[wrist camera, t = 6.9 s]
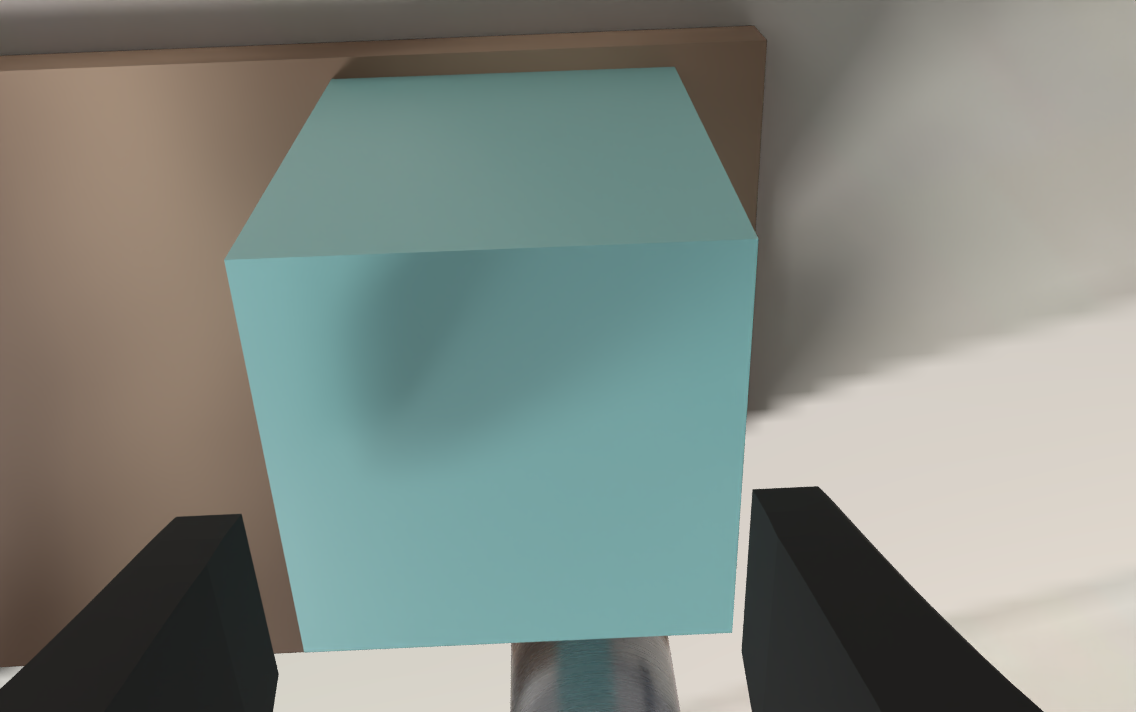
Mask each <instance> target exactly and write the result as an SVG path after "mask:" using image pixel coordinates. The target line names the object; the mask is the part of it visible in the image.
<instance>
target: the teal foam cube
mask: <svg viewBox="0 0 1136 712" xmlns="http://www.w3.org/2000/svg"><path fill="white" fill-rule="evenodd" d="M757 253H758V237H757V235H756V233H755V231H754V229H753V227H752V225H751V223H750V221H749V219H748V216H747V214H746V212H745V210H744V208H743V206H742V204H741V202H740V200H739V198H738V196H737V194H736V192H735V190H734V188H733V186H732V184H731V182H730V179H729V177H728V175H727V173H726V171H725V169H724V167H723V165H722V163H721V161H720V159H719V157H718V155H717V153H716V151H715V149H714V147H713V145H712V142H711V140H710V138H709V136H708V134H707V132H706V130H705V128H704V126H703V124H702V122H701V120H700V118H699V116H698V114H697V112H696V110H695V107H694V105H693V103H692V101H691V99H690V97H689V95H688V93H687V91H686V89H685V87H684V85H683V83H682V81H681V79H680V77H679V75H678V73H677V70H676V68H675V67H653V68H625V69H598V70H570V71H543V72H515V73H487V74H460V75H432V76H405V77H377V78H349V79H331V81H330V82H329V84H328V86H327V87H326V89H325V91H324V92H323V94H322V96H321V97H320V99H319V101H318V102H317V104H316V106H315V108H314V109H313V111H312V113H311V114H310V116H309V118H308V119H307V121H306V123H305V124H304V126H303V128H302V129H301V131H300V133H299V135H298V136H297V138H296V140H295V141H294V143H293V145H292V146H291V148H290V150H289V151H288V153H287V155H286V156H285V158H284V160H283V161H282V163H281V165H280V167H279V168H278V170H277V172H276V173H275V175H274V177H273V178H272V180H271V182H270V183H269V185H268V187H267V188H266V190H265V192H264V193H263V195H262V197H261V199H260V200H259V202H258V204H257V205H256V207H255V209H254V210H253V212H252V214H251V215H250V217H249V219H248V220H247V222H246V224H245V226H244V227H243V229H242V231H241V232H240V234H239V236H238V237H237V239H236V241H235V242H234V244H233V246H232V247H231V249H230V251H229V252H228V254H227V256H226V258H225V259H224V262H225V267H226V272H227V277H228V282H229V287H230V291H231V296H232V301H233V306H234V311H235V316H236V321H237V326H238V331H239V336H240V340H241V345H242V350H243V355H244V360H245V365H246V370H247V375H248V380H249V384H250V389H251V394H252V399H253V404H254V409H255V414H256V419H257V424H258V429H259V433H260V438H261V443H262V448H263V453H264V458H265V463H266V468H267V473H268V477H269V482H270V487H271V492H272V497H273V502H274V507H275V512H276V517H277V521H278V526H279V531H280V536H281V541H282V546H283V551H284V556H285V561H286V566H287V570H288V575H289V580H290V585H291V590H292V595H293V600H294V605H295V610H296V614H297V619H298V624H299V629H300V634H301V639H302V644H303V649H304V652H325V651H346V650H367V649H390V648H411V647H433V646H455V645H476V644H497V643H519V642H541V641H563V640H584V639H606V638H627V637H649V636H671V635H692V634H714V633H732V625H733V609H734V595H735V581H736V566H737V551H738V536H739V520H740V505H741V491H742V476H743V461H744V446H745V432H746V417H747V402H748V387H749V372H750V357H751V342H752V327H753V312H754V297H755V283H756V268H757Z"/></svg>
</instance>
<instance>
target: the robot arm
mask: <svg viewBox="0 0 1136 712" xmlns="http://www.w3.org/2000/svg"><path fill="white" fill-rule="evenodd" d="M747 566H748V567H747V581H746V594H745V609H744V624H743V639H742V656H743V662H744V668H745V674H746V680H747V685H748V691H749V697H750V703H751V709H752V712H1043V711H1042V710H1041V709H1040V708H1039V707H1038V706H1037V705H1035V704H1034V703H1033V702H1032V701H1031V700H1030V699H1029V698H1028V697H1026V696H1025V695H1024V694H1023V693H1022V692H1021V691H1020V690H1019V689H1017V688H1016V687H1015V686H1014V685H1013V684H1012V683H1011V682H1010V681H1009V680H1008V679H1006V678H1005V677H1004V676H1003V675H1002V674H1001V673H1000V672H999V671H998V670H997V669H996V668H995V667H994V666H993V665H991V664H990V663H989V662H988V661H987V660H986V659H985V658H984V657H983V656H982V655H981V654H980V653H979V652H978V651H977V650H976V649H975V648H974V647H973V646H972V645H971V644H969V643H968V642H967V641H966V640H965V639H964V638H963V637H962V636H961V635H960V634H959V633H958V632H957V631H956V630H955V629H954V628H953V627H952V626H951V625H950V624H949V623H948V622H947V621H946V620H945V619H944V618H943V617H942V616H941V615H940V614H939V613H938V612H937V611H936V610H935V609H934V608H933V607H931V606H930V604H929V603H928V602H927V601H926V600H925V599H924V598H923V597H922V596H921V595H920V594H919V593H918V592H917V591H916V590H915V589H914V588H913V587H912V586H911V585H910V584H909V583H908V582H907V581H906V580H905V579H904V577H903V576H902V575H901V574H899V572H898V571H897V570H896V569H895V568H894V567H893V566H892V565H891V564H890V563H889V562H888V561H887V560H886V558H884V556H883V555H882V554H881V553H880V552H879V551H878V550H877V549H876V548H875V547H874V546H873V545H872V543H871V542H870V541H869V540H868V539H867V538H866V537H865V536H864V535H863V534H862V533H861V531H860V530H859V529H858V528H857V527H856V526H855V525H854V524H853V523H852V522H851V520H849V519H848V517H847V516H846V515H845V514H844V513H843V512H842V511H841V510H840V508H839V507H838V506H837V505H836V504H835V503H834V502H833V501H832V500H831V499H830V498H829V497H828V496H827V495H826V494H825V493H824V492H823V491H822V490H821V489H820V488H819V487H816V486H815V487H796V488H774V489H753V492H752V507H751V521H750V536H749V550H748V565H747ZM277 681H278V670H277V665H276V661H275V657H274V652H273V648H272V643H271V639H270V635H269V630H268V626H267V622H266V617H265V613H264V609H263V604H262V600H261V596H260V591H259V587H258V583H257V578H256V574H255V570H254V565H253V561H252V556H251V552H250V548H249V543H248V539H247V535H246V530H245V526H244V522H243V517H242V514H223V515H202V516H181V517H175V518H174V519H173V520H172V521H171V522H170V523H169V524H168V525H167V526H166V527H164V528H163V529H162V530H161V531H160V532H159V533H158V534H157V535H156V536H155V537H154V538H153V539H152V540H151V541H150V542H149V543H148V544H147V545H146V546H145V547H144V548H143V549H142V550H141V551H140V552H139V553H138V554H137V555H136V556H135V557H134V558H133V559H132V560H131V561H130V562H129V563H128V564H127V565H126V566H125V567H124V568H123V569H122V570H121V571H120V572H119V573H118V574H117V575H116V576H115V577H114V578H113V579H112V580H111V581H110V582H109V583H108V584H107V585H106V586H105V587H104V588H103V589H102V590H101V591H100V592H99V593H98V594H97V595H96V596H95V597H94V598H93V599H92V601H91V602H90V603H89V604H88V605H87V606H86V607H85V608H84V609H83V610H82V611H81V612H80V613H79V614H77V615H76V616H75V617H74V618H73V619H72V620H71V621H70V622H69V623H68V624H67V625H66V626H65V627H64V628H63V629H62V630H61V631H60V632H59V633H58V634H57V635H56V636H55V637H54V638H53V639H52V640H51V641H50V642H49V643H48V644H47V645H46V646H45V647H44V648H43V649H42V650H41V651H40V652H39V653H37V654H36V655H35V656H34V657H33V658H32V659H31V660H30V661H29V662H28V663H27V664H26V665H25V666H24V667H23V668H22V669H21V670H20V671H19V672H18V673H17V674H16V675H15V676H14V677H13V678H12V679H11V680H10V681H8V682H7V683H6V684H5V685H4V686H3V687H2V688H1V689H0V712H273V707H274V700H275V694H276V687H277Z"/></svg>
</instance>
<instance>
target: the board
mask: <svg viewBox="0 0 1136 712" xmlns="http://www.w3.org/2000/svg"><path fill="white" fill-rule="evenodd" d="M766 47H767V40H766V39H765V38H764V36H763V35H762V34H761V33H760V32H759V31H758V29H757V28H756V27H755V26H733V27H708V28H683V29H658V30H633V31H608V32H583V33H558V34H533V35H508V36H483V37H458V38H433V39H408V40H383V41H358V42H333V43H308V44H283V45H258V46H233V47H208V48H183V49H158V50H133V51H108V52H83V53H58V54H33V55H8V56H0V667H13V666H25V665H26V664H27V663H28V662H29V661H30V660H31V659H32V658H33V657H34V656H35V655H36V654H37V653H39V652H40V651H41V650H42V649H43V648H44V647H45V646H46V645H47V644H48V643H49V642H50V641H51V640H52V639H53V638H54V637H55V636H56V635H57V634H58V633H59V632H60V631H61V630H62V629H63V628H64V627H65V626H66V625H67V624H68V623H69V622H70V621H71V620H72V619H73V618H74V617H75V616H76V615H77V614H79V613H80V612H81V611H82V610H83V609H84V608H85V607H86V606H87V605H88V604H89V603H90V602H91V601H92V599H93V598H94V597H95V596H96V595H97V594H98V593H99V592H100V591H101V590H102V589H103V588H104V587H105V586H106V585H107V584H108V583H109V582H110V581H111V580H112V579H113V578H114V577H115V576H116V575H117V574H118V573H119V572H120V571H121V570H122V569H123V568H124V567H125V566H126V565H127V564H128V563H129V562H130V561H131V560H132V559H133V558H134V557H135V556H136V555H137V554H138V553H139V552H140V551H141V550H142V549H143V548H144V547H145V546H146V545H147V544H148V543H149V542H150V541H151V540H152V539H153V538H154V537H155V536H156V535H157V534H158V533H159V532H160V531H161V530H162V529H163V528H164V527H166V526H167V525H168V524H169V523H170V522H171V521H172V520H173V519H174V518H175V517H181V516H202V515H223V514H242V517H243V522H244V526H245V530H246V535H247V539H248V543H249V548H250V552H251V556H252V561H253V565H254V570H255V574H256V578H257V583H258V587H259V591H260V596H261V600H262V604H263V609H264V613H265V617H266V622H267V626H268V630H269V635H270V639H271V643H272V648H273V652H274V654H276V653H294V652H295V653H296V652H304V649H303V644H302V639H301V634H300V629H299V624H298V619H297V614H296V610H295V605H294V600H293V595H292V590H291V585H290V580H289V575H288V570H287V566H286V561H285V556H284V551H283V546H282V541H281V536H280V531H279V526H278V521H277V517H276V512H275V507H274V502H273V497H272V492H271V487H270V482H269V477H268V473H267V468H266V463H265V458H264V453H263V448H262V443H261V438H260V433H259V429H258V424H257V419H256V414H255V409H254V404H253V399H252V394H251V389H250V384H249V380H248V375H247V370H246V365H245V360H244V355H243V350H242V345H241V340H240V336H239V331H238V326H237V321H236V316H235V311H234V306H233V301H232V296H231V291H230V287H229V282H228V277H227V272H226V267H225V262H224V259H225V258H226V256H227V254H228V252H229V251H230V249H231V247H232V246H233V244H234V242H235V241H236V239H237V237H238V236H239V234H240V232H241V231H242V229H243V227H244V226H245V224H246V222H247V220H248V219H249V217H250V215H251V214H252V212H253V210H254V209H255V207H256V205H257V204H258V202H259V200H260V199H261V197H262V195H263V193H264V192H265V190H266V188H267V187H268V185H269V183H270V182H271V180H272V178H273V177H274V175H275V173H276V172H277V170H278V168H279V167H280V165H281V163H282V161H283V160H284V158H285V156H286V155H287V153H288V151H289V150H290V148H291V146H292V145H293V143H294V141H295V140H296V138H297V136H298V135H299V133H300V131H301V129H302V128H303V126H304V124H305V123H306V121H307V119H308V118H309V116H310V114H311V113H312V111H313V109H314V108H315V106H316V104H317V102H318V101H319V99H320V97H321V96H322V94H323V92H324V91H325V89H326V87H327V86H328V84H329V82H330V81H331V79H349V78H377V77H405V76H432V75H460V74H487V73H515V72H543V71H570V70H598V69H625V68H653V67H675V68H676V70H677V73H678V75H679V77H680V79H681V81H682V83H683V85H684V87H685V89H686V91H687V93H688V95H689V97H690V99H691V101H692V103H693V105H694V107H695V110H696V112H697V114H698V116H699V118H700V120H701V122H702V124H703V126H704V128H705V130H706V132H707V134H708V136H709V138H710V140H711V142H712V145H713V147H714V149H715V151H716V153H717V155H718V157H719V159H720V161H721V163H722V165H723V167H724V169H725V171H726V173H727V175H728V177H729V179H730V182H731V184H732V186H733V188H734V190H735V192H736V194H737V196H738V198H739V200H740V202H741V204H742V206H743V208H744V210H745V212H746V214H747V216H748V219H749V221H750V223H751V225H752V227H753V229H754V231H755V228H756V211H757V195H758V178H759V162H760V145H761V129H762V112H763V96H764V79H765V63H766Z"/></svg>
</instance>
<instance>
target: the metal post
mask: <svg viewBox="0 0 1136 712" xmlns="http://www.w3.org/2000/svg"><path fill="white" fill-rule="evenodd" d="M511 644H512V645H511V712H680V707H679V701H678V695H677V689H676V683H675V677H674V671H673V664H672V658H671V652H670V646H669V640H668V636H649V637H627V638H606V639H584V640H563V641H541V642H519V643H511Z"/></svg>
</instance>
